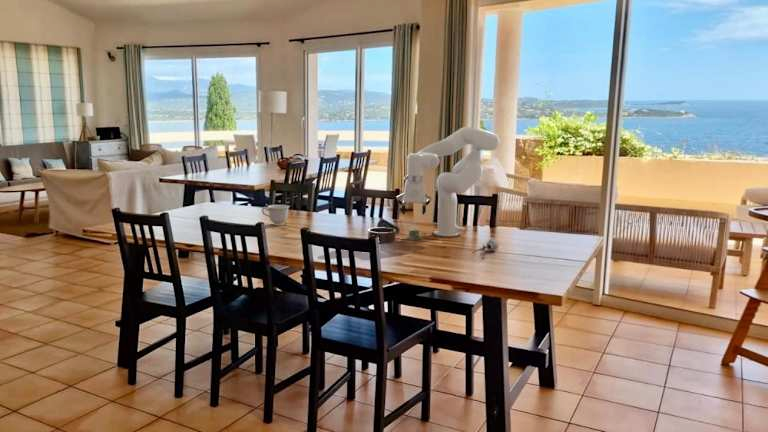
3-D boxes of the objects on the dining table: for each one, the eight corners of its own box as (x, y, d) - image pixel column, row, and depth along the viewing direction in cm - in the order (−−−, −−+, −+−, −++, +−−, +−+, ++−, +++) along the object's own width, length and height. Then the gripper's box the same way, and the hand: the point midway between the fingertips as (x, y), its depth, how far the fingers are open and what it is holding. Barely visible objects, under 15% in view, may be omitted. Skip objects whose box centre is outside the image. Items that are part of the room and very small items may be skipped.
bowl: (394, 237, 287) (394, 227, 286) (396, 243, 274) (396, 232, 273) (367, 237, 286) (367, 227, 285) (368, 243, 273) (368, 232, 272)
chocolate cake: (402, 231, 303) (387, 214, 305) (401, 230, 296) (385, 212, 298) (388, 243, 303) (373, 226, 305) (387, 242, 296) (372, 225, 298)
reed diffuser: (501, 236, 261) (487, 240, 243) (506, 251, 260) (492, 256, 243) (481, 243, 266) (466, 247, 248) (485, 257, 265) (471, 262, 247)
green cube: (417, 237, 287) (418, 228, 286) (418, 239, 282) (419, 230, 282) (408, 237, 286) (408, 228, 286) (409, 239, 282) (410, 230, 281)
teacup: (261, 222, 318) (261, 205, 317) (288, 222, 322) (288, 204, 321) (262, 227, 307) (262, 208, 305) (291, 226, 311) (290, 207, 309)
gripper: (397, 179, 275) (396, 215, 278) (433, 180, 276) (432, 215, 279) (396, 178, 282) (395, 212, 285) (431, 178, 284) (429, 213, 286)
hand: (413, 214), depth 282 cm, fingers open, 9 cm apart
